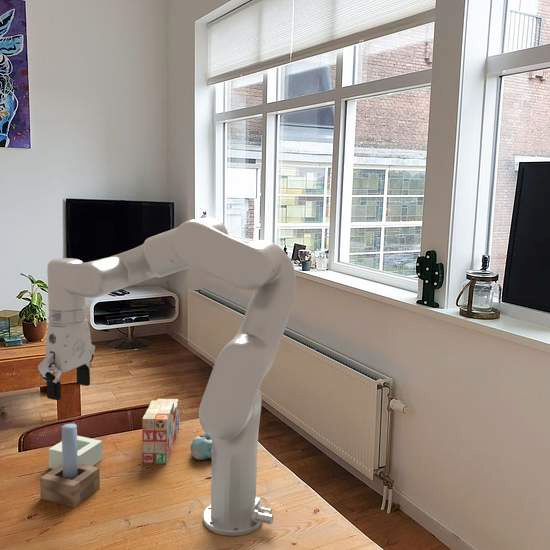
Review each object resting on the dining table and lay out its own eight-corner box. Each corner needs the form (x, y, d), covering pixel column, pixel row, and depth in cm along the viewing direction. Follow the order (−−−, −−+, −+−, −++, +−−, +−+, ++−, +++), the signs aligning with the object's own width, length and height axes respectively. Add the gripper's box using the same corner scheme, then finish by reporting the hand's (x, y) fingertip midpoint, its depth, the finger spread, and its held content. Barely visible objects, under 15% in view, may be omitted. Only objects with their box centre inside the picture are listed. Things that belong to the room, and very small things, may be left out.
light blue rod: (81, 491, 136) (79, 425, 133) (71, 498, 133) (70, 430, 130) (69, 488, 137) (68, 422, 134) (60, 495, 134) (58, 427, 131)
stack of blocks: (157, 429, 171) (157, 388, 169) (179, 429, 171) (179, 388, 169) (142, 464, 150) (142, 417, 148) (167, 464, 150) (167, 418, 148)
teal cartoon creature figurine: (242, 433, 158) (211, 439, 148) (238, 459, 158) (207, 467, 148) (213, 422, 164) (181, 427, 154) (209, 447, 164) (177, 454, 155)
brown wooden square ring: (99, 488, 138) (99, 467, 137) (74, 507, 129) (73, 486, 128) (67, 480, 141) (67, 460, 140) (40, 498, 132) (40, 477, 131)
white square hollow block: (102, 459, 151) (102, 440, 151) (79, 475, 143) (79, 455, 142) (73, 452, 154) (73, 434, 154) (49, 468, 146) (48, 448, 145)
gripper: (53, 326, 119) (56, 407, 122) (106, 310, 135) (107, 382, 138) (24, 322, 122) (26, 402, 124) (78, 306, 138) (80, 377, 140)
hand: (69, 391), depth 131 cm, fingers open, 9 cm apart
